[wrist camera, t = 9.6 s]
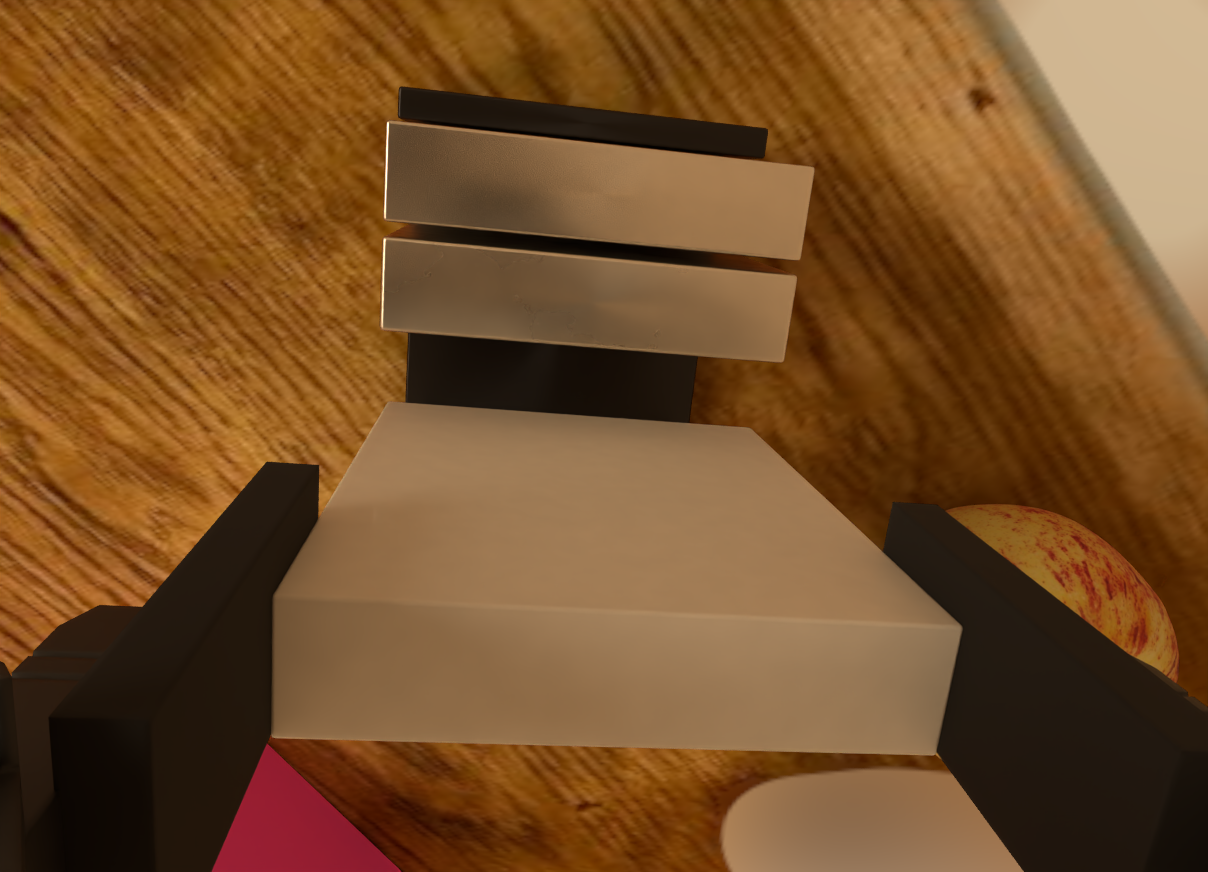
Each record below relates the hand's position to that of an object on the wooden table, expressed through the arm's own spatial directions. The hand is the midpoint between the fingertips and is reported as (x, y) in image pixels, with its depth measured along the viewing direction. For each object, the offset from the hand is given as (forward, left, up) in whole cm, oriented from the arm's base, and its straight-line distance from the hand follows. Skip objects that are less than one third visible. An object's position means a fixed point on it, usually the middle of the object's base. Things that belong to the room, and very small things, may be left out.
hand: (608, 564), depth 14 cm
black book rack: (-1, 0, -18) cm, 18 cm away
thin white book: (+1, 0, -8) cm, 8 cm away
